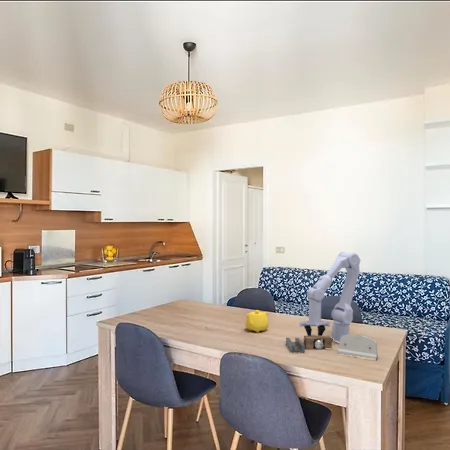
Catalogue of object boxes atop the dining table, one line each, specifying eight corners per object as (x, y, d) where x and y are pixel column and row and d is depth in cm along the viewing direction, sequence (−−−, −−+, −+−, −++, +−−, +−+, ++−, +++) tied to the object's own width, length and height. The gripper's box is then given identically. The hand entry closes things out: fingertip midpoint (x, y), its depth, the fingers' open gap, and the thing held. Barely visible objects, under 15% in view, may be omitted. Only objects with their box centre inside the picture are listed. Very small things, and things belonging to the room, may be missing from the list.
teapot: (252, 336, 196) (253, 315, 196) (237, 331, 204) (237, 311, 204) (274, 329, 209) (274, 309, 209) (258, 325, 217) (259, 306, 217)
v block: (285, 344, 183) (285, 337, 183) (298, 344, 184) (298, 337, 184) (291, 352, 171) (291, 345, 171) (304, 352, 172) (304, 345, 172)
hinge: (336, 354, 170) (338, 331, 173) (338, 355, 174) (340, 332, 177) (376, 361, 162) (378, 337, 165) (377, 362, 166) (379, 338, 169)
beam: (303, 346, 181) (304, 335, 181) (328, 346, 182) (329, 335, 182) (306, 349, 177) (306, 338, 177) (331, 349, 178) (331, 338, 178)
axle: (309, 342, 187) (309, 334, 187) (317, 342, 187) (317, 334, 187) (315, 349, 177) (315, 340, 177) (323, 349, 177) (323, 340, 177)
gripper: (302, 314, 180) (301, 343, 180) (332, 315, 181) (332, 343, 181) (298, 311, 187) (298, 339, 187) (327, 311, 188) (327, 339, 188)
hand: (314, 341), depth 185 cm, fingers closed on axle, 4 cm apart
